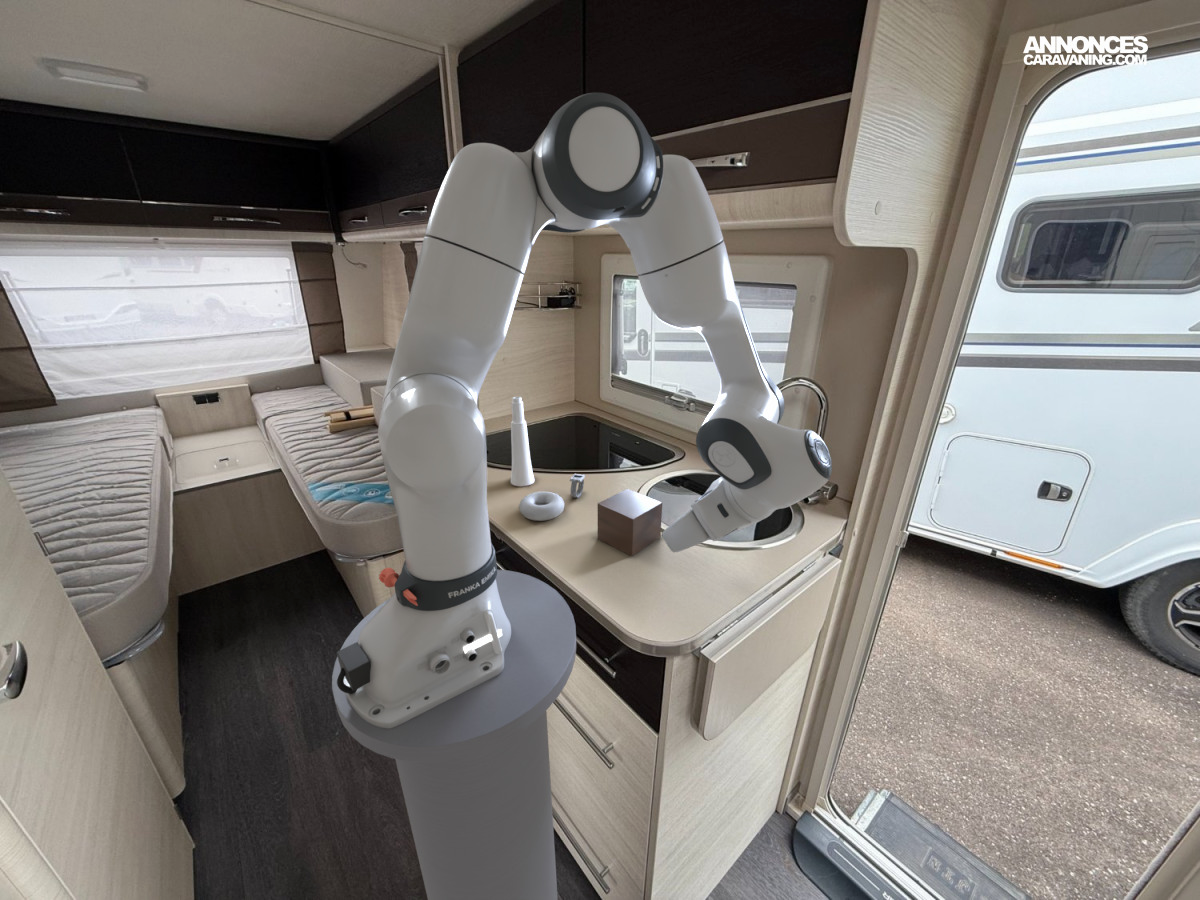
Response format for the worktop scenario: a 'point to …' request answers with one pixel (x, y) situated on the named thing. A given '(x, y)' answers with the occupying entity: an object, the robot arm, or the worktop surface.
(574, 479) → the wristwatch
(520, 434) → the cosmetic bottle
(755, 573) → the worktop surface
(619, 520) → the walnut block
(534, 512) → the donut
